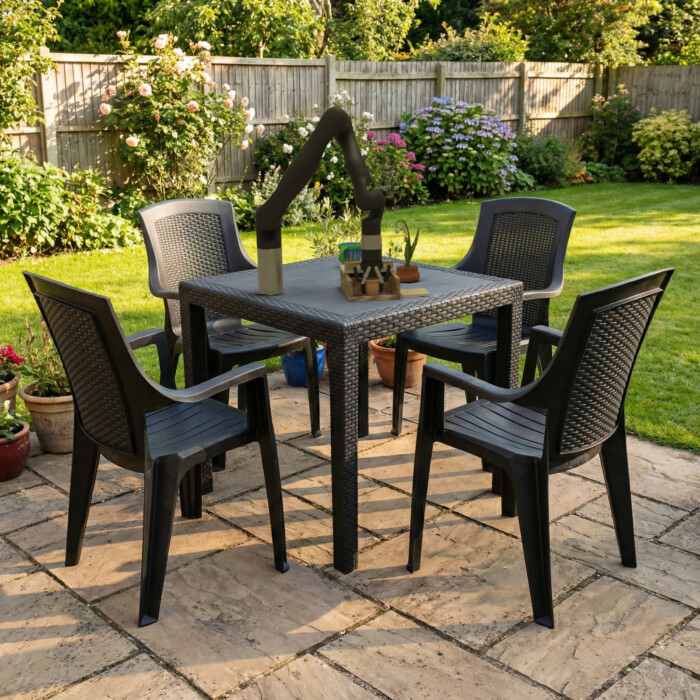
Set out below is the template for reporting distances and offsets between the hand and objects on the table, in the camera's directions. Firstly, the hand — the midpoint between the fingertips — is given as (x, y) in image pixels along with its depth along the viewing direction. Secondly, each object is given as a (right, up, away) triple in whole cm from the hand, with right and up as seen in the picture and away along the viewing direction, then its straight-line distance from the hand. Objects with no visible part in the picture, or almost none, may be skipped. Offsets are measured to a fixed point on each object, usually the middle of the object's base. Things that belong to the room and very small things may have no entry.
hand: (372, 293), depth 318 cm
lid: (-2, +10, +11) cm, 15 cm away
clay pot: (0, -1, 0) cm, 1 cm away
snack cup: (-8, +15, +60) cm, 63 cm away
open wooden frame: (-1, +1, +7) cm, 7 cm away
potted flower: (+14, +6, +28) cm, 32 cm away
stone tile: (+15, 0, +3) cm, 16 cm away
